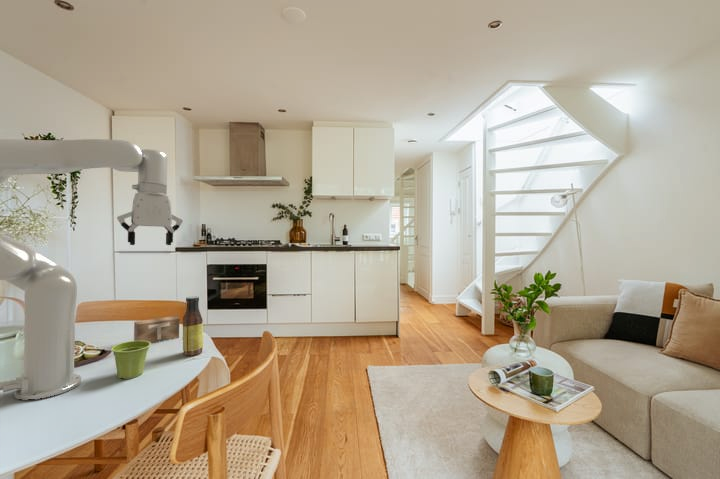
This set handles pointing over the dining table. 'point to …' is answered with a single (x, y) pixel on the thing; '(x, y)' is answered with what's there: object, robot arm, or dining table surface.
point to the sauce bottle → (192, 328)
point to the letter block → (157, 329)
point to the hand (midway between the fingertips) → (150, 244)
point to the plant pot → (130, 358)
